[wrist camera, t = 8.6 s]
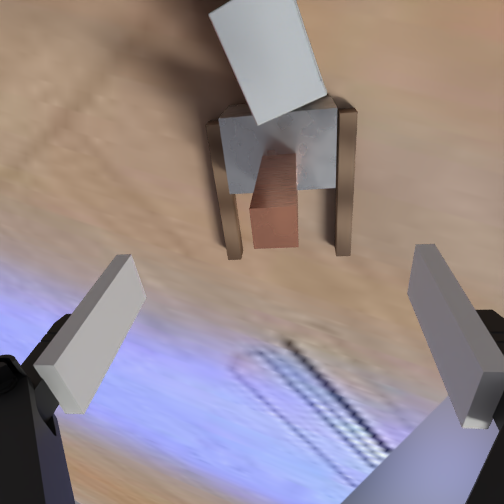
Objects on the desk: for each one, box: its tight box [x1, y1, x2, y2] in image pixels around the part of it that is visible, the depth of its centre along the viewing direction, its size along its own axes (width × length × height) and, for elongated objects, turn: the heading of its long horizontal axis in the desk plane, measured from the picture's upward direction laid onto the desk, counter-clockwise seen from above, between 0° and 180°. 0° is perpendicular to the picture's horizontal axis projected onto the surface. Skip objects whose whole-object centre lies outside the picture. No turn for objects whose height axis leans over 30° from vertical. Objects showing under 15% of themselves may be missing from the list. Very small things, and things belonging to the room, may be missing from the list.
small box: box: [208, 0, 327, 125], centre depth 28 cm, size 8×6×10 cm
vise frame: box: [206, 108, 358, 260], centre depth 33 cm, size 28×15×9 cm, turn 6°
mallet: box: [218, 96, 337, 249], centre depth 29 cm, size 7×10×17 cm
